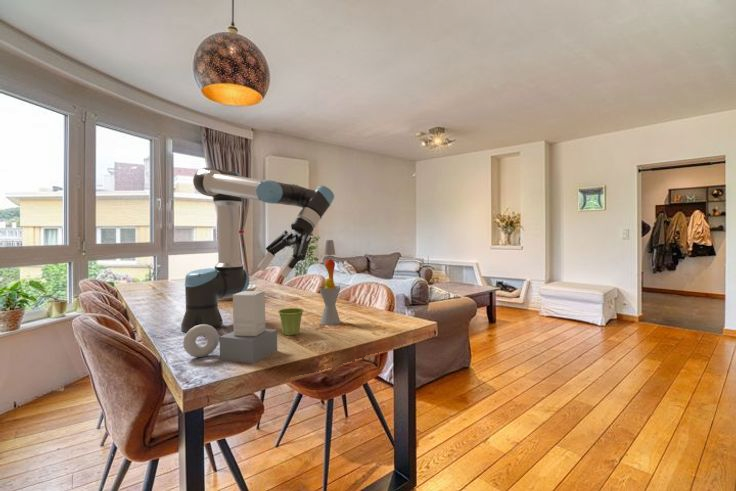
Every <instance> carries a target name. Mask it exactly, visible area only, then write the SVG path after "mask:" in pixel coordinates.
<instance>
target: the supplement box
mask: <svg viewBox="0 0 736 491" xmlns="http://www.w3.org/2000/svg"><path fill="white" fill-rule="evenodd" d="M232 316H233V317H232V319H233V325H232V326H233V332H234V336H257V335H259V334H260V333H262V332H263V331H265V329H266V292H265V291H264V290H262V291H261V290H246V291H242V292H239V293H237V294H234V295H233V296H232Z"/></svg>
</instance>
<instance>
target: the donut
mask: <svg viewBox="0 0 736 491" xmlns="http://www.w3.org/2000/svg"><path fill="white" fill-rule="evenodd" d="M185 333H186V332H185ZM202 336H204V337H206V338H207V339H206V340H207V341H206V342H205V343H204V344H202V345H198V344H197V343H196V341H197V339H198V338H199V337H202ZM219 343H220V336H219V332H218V331H217V330H216V329H215V328H213V327H212V326H210V325H207V324H200V325H197V326H194V327H193V328H191V329H190V330H189V331H188V332H187V333H186V334H185V336H184V337H183V341H182V344H183V349H184V350H185V352H186V353H187V354H189V356H191V357H194V358H203V357H207V356H208V355H210V354H212V353H213V352H214V351H215V350H216V348H217V347H218V344H219Z"/></svg>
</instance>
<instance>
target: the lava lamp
mask: <svg viewBox="0 0 736 491" xmlns="http://www.w3.org/2000/svg"><path fill="white" fill-rule="evenodd" d="M324 245H325V246H324V252H323V255H324V256H334V255H335V256H336V250H335V249H336V248H335V243H334V240H333V239H326V240H325V244H324ZM335 266H336V263H335V261H334V260H333V259H330V258H329V259H327V260H326V261H325V262H324V268H326V271H327V273H328V278H326V279H325V281H324V284H325V285H323V286H319V291H320V292H319V293H320V295H321V297H322V300H323V303H324V307H323V311H322V315H321V319H320V322H319V324H320V323H321V325H324V326H333V325H334V326H335V325H339V324H340V323H341V318H340V316H339V313H338V309H337V307H336V303H337V300H338V297H339V294H340V291H341V286H340V285H336V284H335V282H334V272H335Z"/></svg>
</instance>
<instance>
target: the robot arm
mask: <svg viewBox="0 0 736 491" xmlns="http://www.w3.org/2000/svg"><path fill="white" fill-rule="evenodd" d="M192 182H193V186H194V189H196V191H197V192H199V194H201V195H203V196H207V197H212V198H213V200H212V201H213V204H215V206H216V209H217V210H216V211H217V252H218V258H217V261H218V262H217V263H216V264H215V265H214V268H211V267H210V268H209V267H208V268H201V269H196V270H195V269H194V270H192V271H189V272H188V273H187V274H186V275H185V277H184V278H185V279H184V281H185V282H184V287H185V288H184V289H185V290H184V291H185V292H184V294H185V295H184V296H185V311H184V315H183V318H182V320H181V324H180V330H181V332H183V333H187V332H188V331H189V330H190V329H191V328H193V327H194V326H197V325H200V324H207V325H210V326H212V327H213V328H215V329H216V331H217V330H219V329H222V328H223V327H224V321H223V318H222V315H221V312H220V309H219V302H218V301H219V300H221V299H225V298H230V297H233V295H234V294H237V293H239V292H242V291H248V287H249V285H250V275H249V273H248V271H247V270H246V269H245V268H244V264H243V263H242V262H241V261H240V216H239V215H240V213H239V212H240V210H239V209H240V208H239V207H240V206H241V205H243V200H244V199H248V200H253V201H254V200H255V201H259V202H264V203H266V204H275V205H276V204H277V205H284V206H294V207H298V208H302V209H300V211H299V213H298V214H297V215H296V217H295V219H294V220H293V222H292V223H291V224H290V228H291V230H290V231H287V230H286V229H284V230H283V231H282V233H281V234H280V235H279V236H277V237H276V239H274V240H273V241H272V242H270V244H269V245H268V246H266V247H265V250H266V251H267V253H266V254H265V255H264V257H263V259H262V260H261V261H260V262H259V264H258V265H257V268H258V269H260V270H261V271H263V272H265V271H266V269H267V267H268V266H269V265H270V263H271V262H272V261H273V259H274V258H275V256H276V254H277V253H279V252H280V251H282V250H283V249H285V248H286V247H289V246H293V252H292V253H293V254H292V255H291V256H290V257H289V258H288V260H287V261H286V263H285V264H284V266H283V267H282V269H281V270H280V272H279V274H280V276H282V277H283V278H285V279H287V278H288V276H289V275H290V273H291V272H292V271H293V269H294V268H295V266H296V265H297V264H298V262H300V261H305V259H306V255H307V252H308V248H309V244H310V242H311V241H312V237H311V234H312V233H313V232H314V229H315V228H316V226H317V225H319V224H318V223H319V222H320V220H321V219H322V217H323V216H324V215H325V213H326V212H327V210H328V209H329V207H331V204H332V202H333V201H334V199H335V194H334V191H332V190H331V188H329V187H327V186H325V185H322V184H321V185H318V186H317V187H316V188H315V189H309V188H307V187H305V186H304V187H303V186H300V185H298V184H294V183H284V182H279V181H275V180H267V179H259V178H254V177H253V178H251V177H246V176H243V175H242V174H240V173H237V172H234V171H232V170H225V169H218V168H213V167H203V168H200V169H198V170H197V171H196V172H195V173H194V175H193V179H192Z"/></svg>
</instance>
